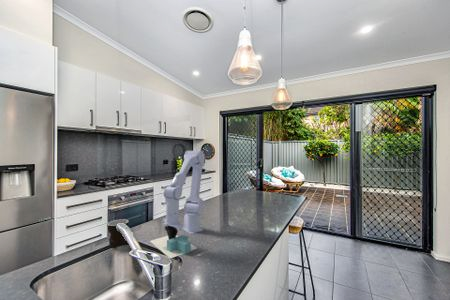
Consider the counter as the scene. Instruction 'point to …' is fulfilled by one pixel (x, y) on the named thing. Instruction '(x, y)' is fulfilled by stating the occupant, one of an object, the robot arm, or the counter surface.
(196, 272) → the counter surface
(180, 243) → the tee block
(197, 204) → the robot arm
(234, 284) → the counter surface
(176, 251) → the mat
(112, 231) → the coffee mug
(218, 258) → the counter surface
